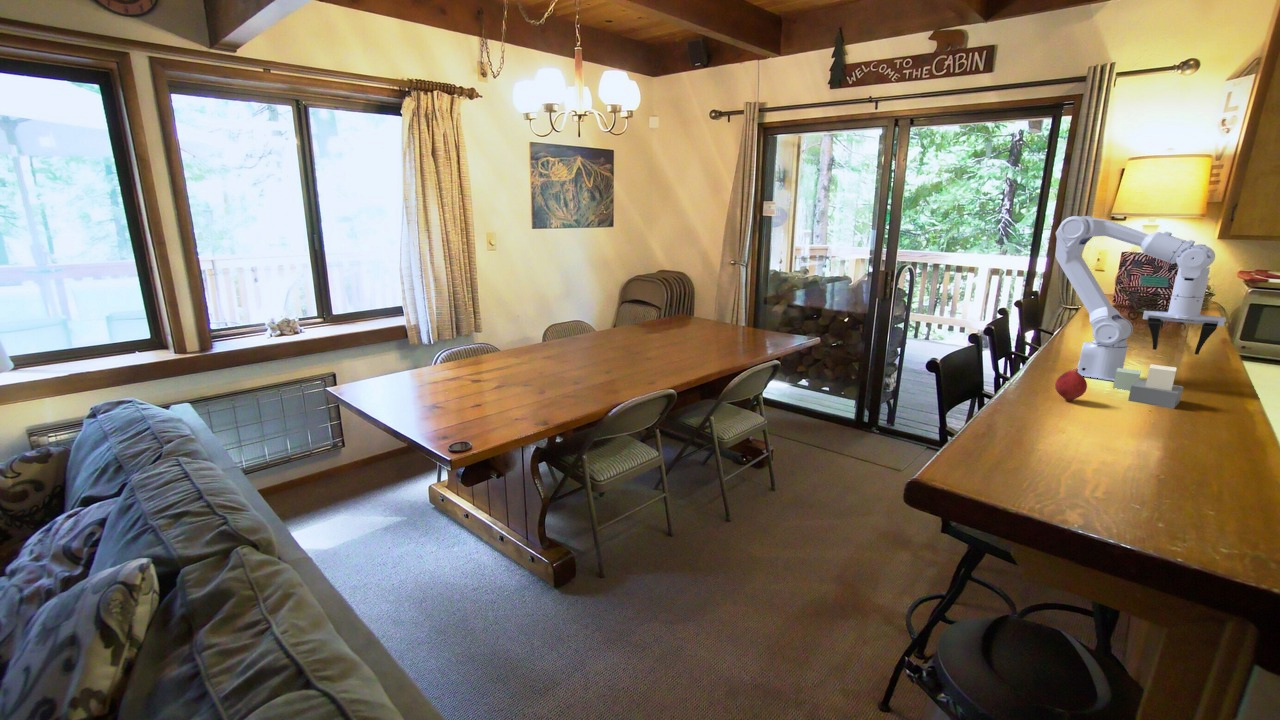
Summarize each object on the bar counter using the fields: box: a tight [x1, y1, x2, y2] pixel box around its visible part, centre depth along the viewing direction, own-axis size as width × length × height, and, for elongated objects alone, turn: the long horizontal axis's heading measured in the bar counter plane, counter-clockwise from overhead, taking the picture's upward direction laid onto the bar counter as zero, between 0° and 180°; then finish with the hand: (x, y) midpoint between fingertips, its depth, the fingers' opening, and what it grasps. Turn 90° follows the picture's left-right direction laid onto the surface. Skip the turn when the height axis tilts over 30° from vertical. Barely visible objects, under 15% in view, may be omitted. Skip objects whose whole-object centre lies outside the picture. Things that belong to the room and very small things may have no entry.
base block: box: [1127, 378, 1184, 410], centre depth 134 cm, size 8×8×4 cm
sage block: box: [1112, 367, 1142, 392], centre depth 144 cm, size 4×4×4 cm
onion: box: [1054, 367, 1088, 402], centre depth 134 cm, size 6×6×8 cm
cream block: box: [1145, 363, 1177, 391], centre depth 133 cm, size 4×4×4 cm
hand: (1175, 351), depth 142 cm, fingers open, 7 cm apart
